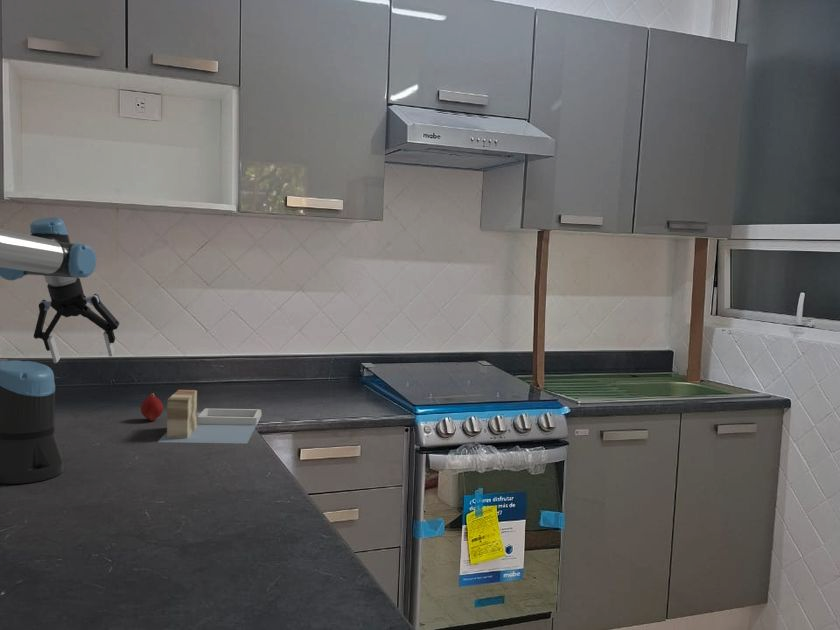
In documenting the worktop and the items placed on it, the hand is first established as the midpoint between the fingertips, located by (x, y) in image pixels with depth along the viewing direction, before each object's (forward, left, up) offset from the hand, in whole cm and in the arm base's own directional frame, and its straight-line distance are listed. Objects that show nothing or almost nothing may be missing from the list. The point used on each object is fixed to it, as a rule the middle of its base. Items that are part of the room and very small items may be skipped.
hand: (84, 357), depth 194 cm
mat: (+7, -32, -20) cm, 38 cm away
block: (0, -25, -19) cm, 31 cm away
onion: (+13, -14, -20) cm, 27 cm away
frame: (+15, -35, -20) cm, 42 cm away
